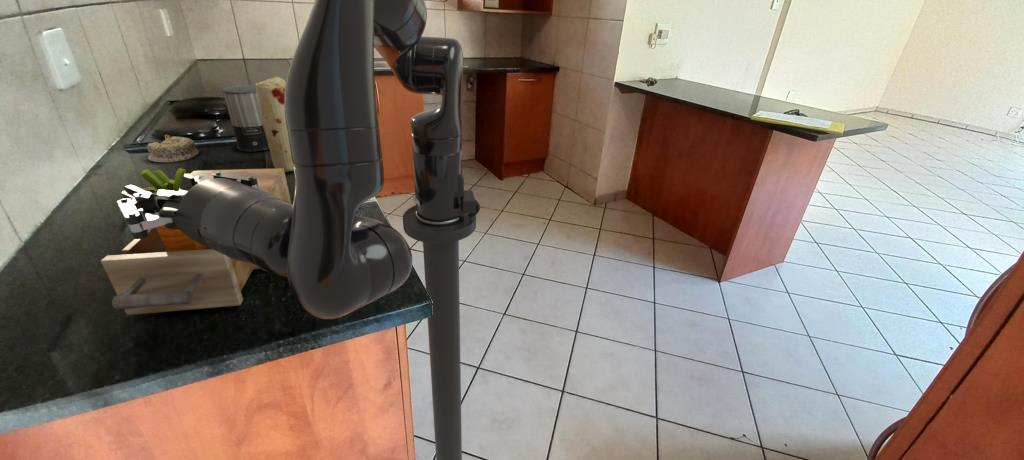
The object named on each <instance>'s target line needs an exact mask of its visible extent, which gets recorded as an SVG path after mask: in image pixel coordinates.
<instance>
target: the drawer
mask: <svg viewBox="0 0 1024 460" xmlns="http://www.w3.org/2000/svg"><path fill="white" fill-rule="evenodd" d="M147 232H148V236H147V237H145V238H142V239H134V238H133V239H132V241H131V242H129V243H128V244H127V245H126V246H125V247H124V248H123V249H121V253H122V254H107V255H106V256H105V257H103V258H102V259H101V260H100V263H101V265H102V267H103V270H104V271H105V273H106V275H107V277H108V279H109V281H110V283H111V285H112V288H113V290H114V292H115V293H116V296H114V297H113V298H112V301H111V305H112V308H113V309H114V310H124V312H125V314H126V315H127V316H131V315H143V314H144V315H145V314H156V313H166V312H167V313H168V312H181V311H189V310H190V311H191V310H200V309H201V310H203V309H213V308H224V307H237V306H241V305H242V303H243V301H244V298H243V294H242V290H243V288H244V287H245V285H246V283H247V281H248V280H249V277H250V276H251V274H252V272H253V271H254V270H255V269H254V267H255V266H253V265H251V264H249V263H246V262H241V261H238V260H235V259H232V258H230V257H228V256H226V255H223V254H221V253H219V252H217V251H215V250H213V249H211V248H209V247H207V249H206V250H190V251H174V252H169V251H168V250H167V248H166V247H165V245H164V244H163V242H162V240H161V238H160V236H159V234H158V232H157V230H156V228H152V230H151V231H147Z"/></svg>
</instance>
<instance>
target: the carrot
mask: <svg viewBox="0 0 1024 460" xmlns="http://www.w3.org/2000/svg"><path fill="white" fill-rule="evenodd" d="M186 172H187V169H184V168H180V167H179V168H177V170H176V172H175V173H176V174H175V173H174V174H175V175H174V177H173V179H170V178H169V177H168V176H167V175H166V174H165V173H164V172H163V171H162V170H160V169H157V170H155V171H154V172H152V171H150V170H149V169H148V168H147V169H144V170H142V171H141V172H140V177H142V178H143V179H144V180H145V181H146V182H147V183H149V184H150V185H151V186H149V187H150V188H148V189H147V191H149V192H152V193H154V192H156V191H159V190H168V191H177V192H179V189H180V185H181V182H182V179H183V177H184V175H185V173H186ZM186 174H187V173H186ZM154 187H155V188H154ZM156 230H157V232H158V234H159V236H160V238H161V240H162V242H163V244H164V245H165V247H166V248H167V250H168V251H169V252H174V251H190V250H206V249H207V247H206V246H204V245H202V244H200V243H198V242H196V241H194V240H192V239H191V238H189V237H188V236H187V235H186V234H184V233H183V232H182V231H181V230H179V229H168V228H166V227H164V226H160V227H156Z"/></svg>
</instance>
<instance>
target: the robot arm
mask: <svg viewBox="0 0 1024 460" xmlns="http://www.w3.org/2000/svg"><path fill="white" fill-rule="evenodd" d="M427 20H428V11H427V5H426V1H425V0H313V5H312V8H311V9H310V13H309V16H308V19H307V21H306V24H305V27H304V28H303V31H302V34H301V36H300V38H299V41H298V43H297V45H296V47H295V51H294V53H293V56H292V59H291V61H290V65H289V67H288V71H287V76H286V80H285V82H286V85H285V94H284V108H285V119H286V125H287V131H288V137H289V144H290V150H291V156H292V162H293V164H294V166H293V168H294V171H293V172H294V179H295V187H294V196H293V201H292V202H291V203H289V202H286V201H283V200H281V199H279V198H278V197H276V196H274V195H272V194H270V193H267V192H265V191H262V190H259V186H258V182H257V178H256V177H251V176H244V175H237V174H230V173H223V172H217V173H214V174H213V177H212V178H209V177H208V178H207V177H206V176H204V175H199V176H195V175H192V174H191V173H185V175H184V177H183V179H182V182H181V185H180V189H181V191H179V192H177V191H168V190H159V191H156V192H154V193H151V192H147V191H146V190H143V189H141V187H138V186H136V185H133V184H129V185H125V186H123V190H122V191H121V195H122V197H123V198H121V199H119V200H117V201H116V204H117V206H118V208H119V210H120V213H121V214H122V216H123V220H124V222H125V224H126V226H127V228H128V231H129V232H130V234H131V236H132V238H133V240H134V239H142V238H145V237H147V236H148V232H147V231H151V230H152V228H156V227H160V226H164V227H166V228H168V229H179V230H181V231H182V232H183V233H184V234H186V235H187V236H188V237H189V238H191V239H192V240H194V241H196V242H198V243H200V244H202V245H204V246H206V247H209V248H211V249H213V250H215V251H217V252H219V253H221V254H223V255H226V256H228V257H230V258H232V259H235V260H238V261H241V262H246V263H249V264H251V265H253V266H255V267H258V268H260V269H259V270H262V271H264V272H266V273H269V274H271V275H273V276H276V277H280V278H284V279H285V278H286V279H287V281H288V285H289V288H290V291H291V293H292V295H293V297H294V299H295V301H296V302H297V303H298V305H300V307H301V308H302V309H303V310H304V311H306V312H307V313H308V314H309V315H311V316H313V317H315V318H318V319H322V320H334V319H338V318H341V317H345V316H346V315H348V314H351V313H353V312H355V311H357V310H359V309H360V308H363V307H364V306H366V305H369V304H370V303H373V302H375V301H377V300H378V299H381V298H383V297H385V296H387V295H389V294H391V293H393V292H395V291H397V290H398V289H399V288H400V287H402V285H403V284H405V283H406V281H407V280H408V278H409V276H410V275H411V272H412V269H413V253H412V250H411V246H410V245H409V243H408V242H407V240H406V239H405V237H404V236H403V235H402V234H401V232H399V231H398V230H397V229H396V228H395V227H393V226H391V225H390V224H388V223H386V222H384V221H382V220H379V219H375V218H372V217H367V216H363V215H356V214H357V211H358V209H359V208H360V207H361V206H362V205H363V204H364V203H366V202H367V201H369V200H371V199H373V198H374V197H376V196H377V195H379V194H380V193H381V191H382V190H383V189H384V184H385V168H384V160H383V152H382V143H381V142H382V141H381V133H380V128H379V127H380V125H379V124H380V123H379V117H378V116H379V115H378V108H377V98H376V97H377V96H376V84H375V50H376V51H377V53H378V54H379V55H380V56H381V58H382V59H383V60H384V61H385V63H386V64H387V65H388V68H390V70H391V72H392V73H393V75H394V76H395V78H396V79H397V81H398V82H399V84H400V85H401V86H402V87H403V88H404V90H406V91H408V92H410V93H413V94H419V95H432V96H441V103H440V104H439V105H437V106H435V107H433V108H431V109H428V110H427V109H426V110H424V111H421V112H418V113H416V114H414V115H413V116H412V117H411V119H410V133H411V134H410V136H411V153H412V167H413V168H412V169H413V181H414V195H412V201H413V202H414V203H415V205H416V218H417V220H418V221H419V222H421V223H423V224H425V225H429V226H448V225H452V224H455V223H457V222H462V221H464V213H470V214H468V217H469V218H472V217H473V216H475V215H476V216H477V215H478V214H479V212H480V210H481V204H480V203H479V201H478V200H476V198H475V193H474V191H473V190H472V189H468V190H467V189H466V190H465V177H464V173H463V86H464V85H463V84H464V83H463V82H464V53H463V48H462V45H461V43H460V41H459V40H457V39H455V38H453V37H441V36H439V37H438V36H423V34H424V31H425V29H426V26H427V25H426V24H427ZM175 174H176V172H175V173H174V176H175Z"/></svg>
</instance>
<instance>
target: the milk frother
mask: <svg viewBox="0 0 1024 460" xmlns="http://www.w3.org/2000/svg"><path fill="white" fill-rule="evenodd" d="M255 85H256V84H255ZM255 85H254V84H245V85H233V86H226V87H223V88H220V90H219V91H220V93H222V94H223V97H224V99H225V103H226V107H227V111H228V115H229V118H230V121H231V125H232V129H233V133H234V137H235V141H236V145H237V146H236V148H237V150H239V151H242V152H262V151H267V150H270V149H269V145H268V141H267V138H266V134H265V131H264V128H263V124H262V119H261V111H260V106H259V101H258V95H257V90H256V86H255Z"/></svg>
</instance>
